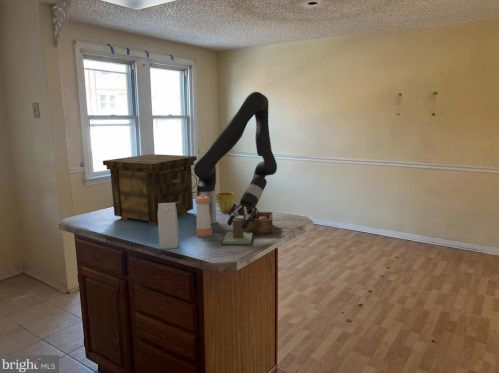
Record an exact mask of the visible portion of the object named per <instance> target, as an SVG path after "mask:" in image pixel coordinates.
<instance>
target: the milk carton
mask: <svg viewBox="0 0 499 373" xmlns="http://www.w3.org/2000/svg"><path fill="white" fill-rule="evenodd" d="M157 226H158V241H159V249H160V250H164V249H165V250H166V249H168V250H169V249H178V246H179V227H178V226H179V225H178V215H177V209H176V205H175V203H158V225H157Z"/></svg>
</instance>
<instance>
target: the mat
mask: <svg viewBox="0 0 499 373" xmlns="http://www.w3.org/2000/svg"><path fill="white" fill-rule="evenodd" d="M254 236H255V235H254V234H253V236H252V240H251V244H223V241H222V243H221V246H252V245H253V241H254Z"/></svg>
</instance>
